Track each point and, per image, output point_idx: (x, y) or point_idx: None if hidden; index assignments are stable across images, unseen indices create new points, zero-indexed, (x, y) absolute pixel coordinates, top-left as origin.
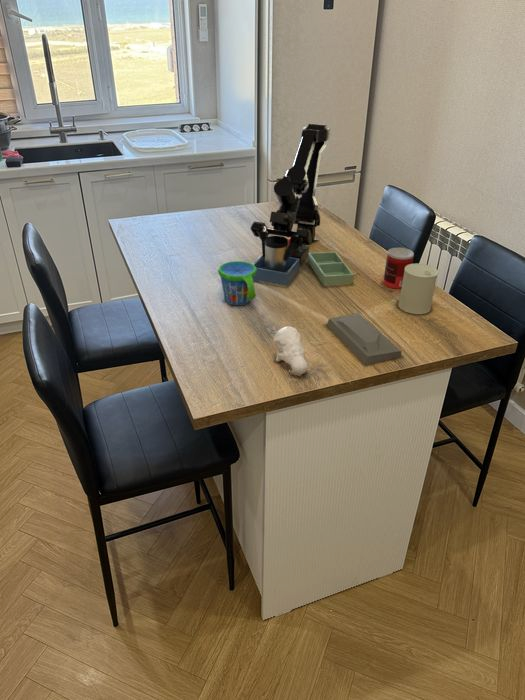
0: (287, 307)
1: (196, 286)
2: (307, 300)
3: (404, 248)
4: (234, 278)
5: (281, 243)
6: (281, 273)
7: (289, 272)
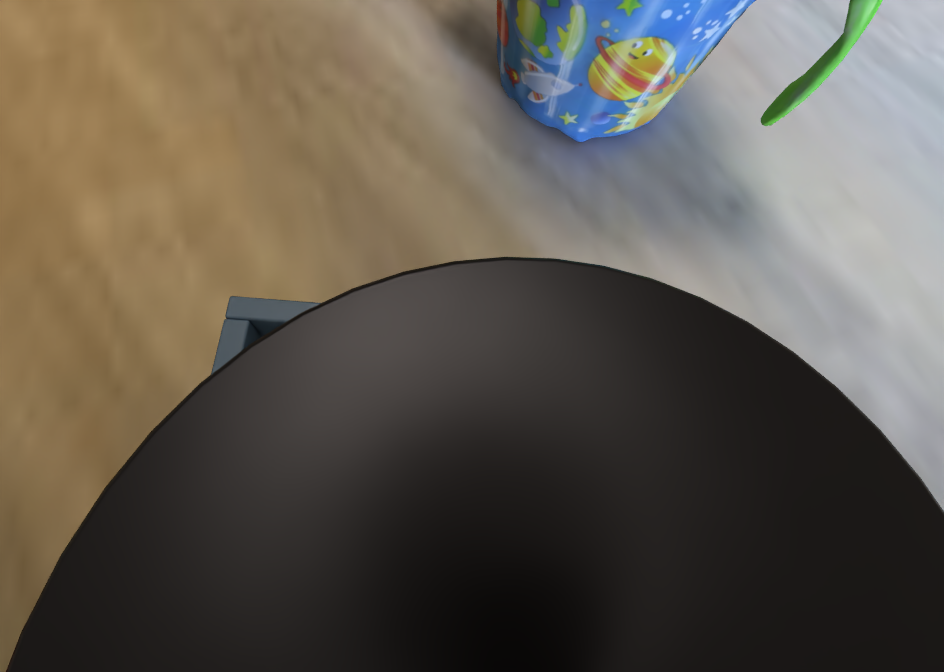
0: (232, 74)
1: (918, 182)
2: (77, 193)
3: None
4: None
5: (253, 397)
6: (314, 304)
7: (217, 360)
